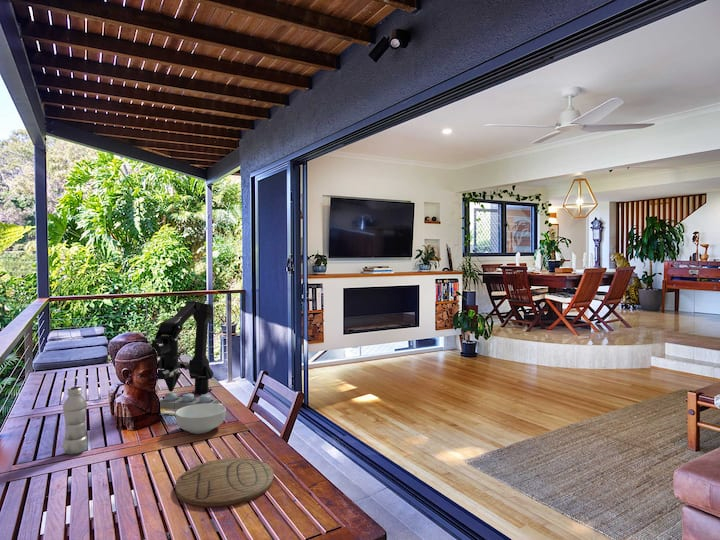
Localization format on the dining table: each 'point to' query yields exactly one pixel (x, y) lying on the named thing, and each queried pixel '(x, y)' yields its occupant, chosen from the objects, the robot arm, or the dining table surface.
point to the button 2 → (188, 398)
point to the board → (178, 405)
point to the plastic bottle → (75, 422)
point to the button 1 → (171, 397)
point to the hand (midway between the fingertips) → (170, 391)
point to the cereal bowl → (200, 417)
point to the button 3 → (205, 398)
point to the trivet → (224, 482)
